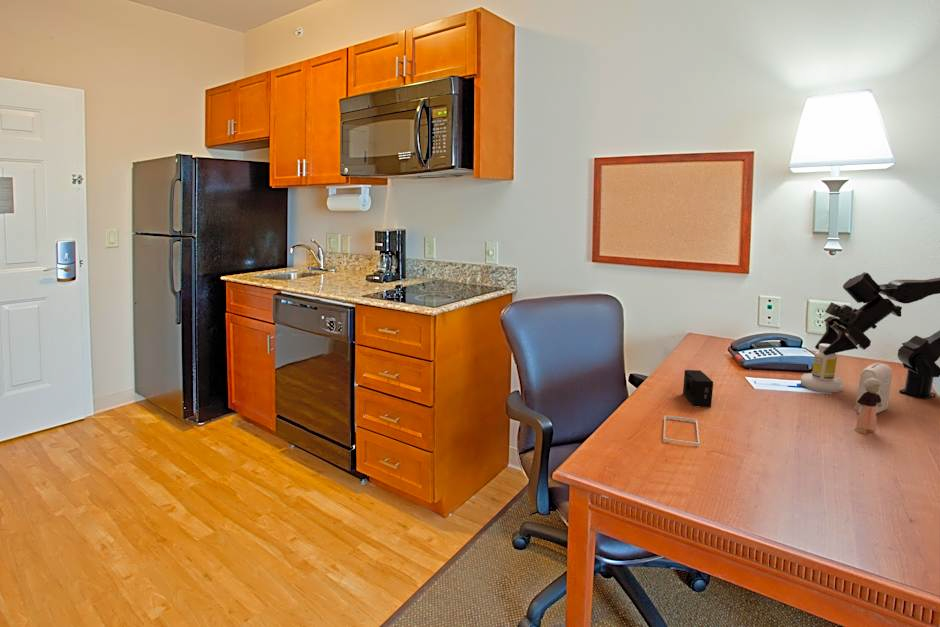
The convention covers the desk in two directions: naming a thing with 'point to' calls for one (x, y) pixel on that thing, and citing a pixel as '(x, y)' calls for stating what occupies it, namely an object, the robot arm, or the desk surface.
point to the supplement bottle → (824, 364)
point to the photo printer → (883, 375)
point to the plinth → (821, 383)
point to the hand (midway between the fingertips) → (820, 351)
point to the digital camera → (698, 388)
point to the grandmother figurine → (868, 406)
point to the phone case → (681, 420)
